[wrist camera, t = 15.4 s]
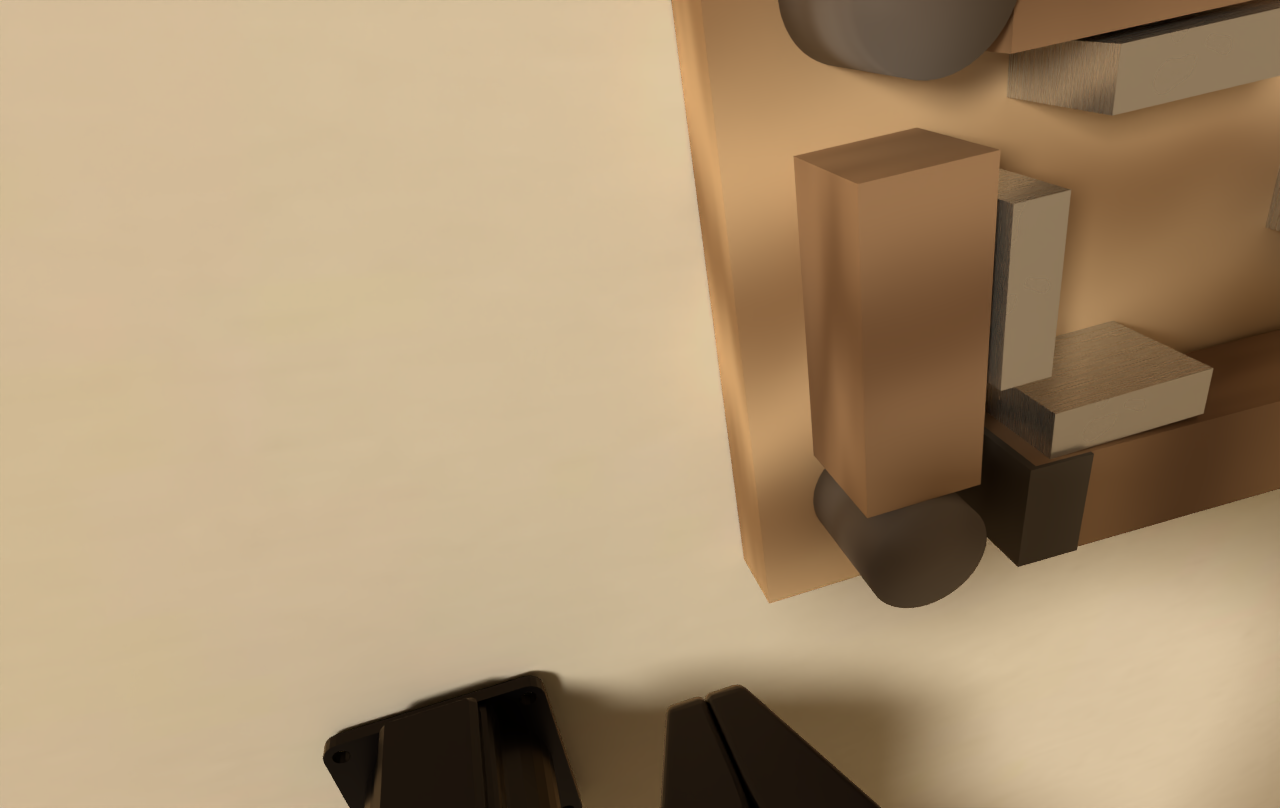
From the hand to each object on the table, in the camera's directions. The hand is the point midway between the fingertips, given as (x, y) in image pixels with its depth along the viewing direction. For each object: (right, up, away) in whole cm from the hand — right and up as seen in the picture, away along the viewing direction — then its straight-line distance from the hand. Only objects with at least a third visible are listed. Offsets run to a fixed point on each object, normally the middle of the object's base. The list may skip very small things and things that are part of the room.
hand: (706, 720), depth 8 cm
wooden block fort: (+10, +9, +12) cm, 18 cm away
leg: (+14, +3, +13) cm, 19 cm away
